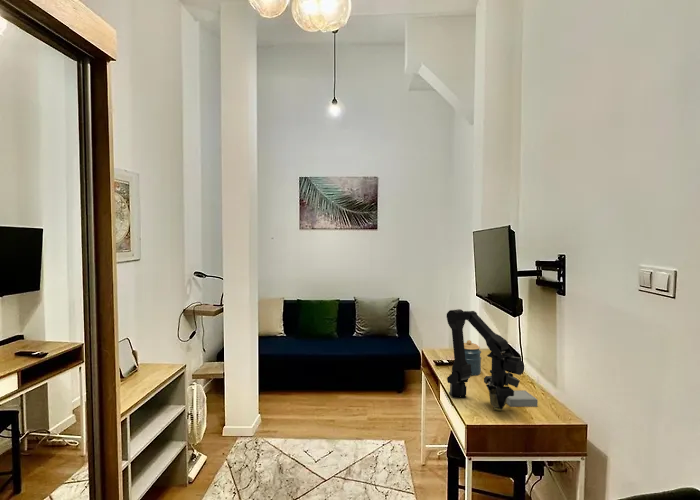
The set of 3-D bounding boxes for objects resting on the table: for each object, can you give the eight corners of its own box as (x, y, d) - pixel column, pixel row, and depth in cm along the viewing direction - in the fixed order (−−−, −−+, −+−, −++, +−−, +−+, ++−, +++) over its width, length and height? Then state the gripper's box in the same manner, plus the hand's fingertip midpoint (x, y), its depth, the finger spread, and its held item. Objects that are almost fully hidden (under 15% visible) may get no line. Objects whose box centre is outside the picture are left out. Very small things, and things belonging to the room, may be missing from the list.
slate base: (510, 406, 193) (510, 399, 193) (499, 397, 205) (499, 390, 205) (537, 406, 194) (537, 399, 194) (525, 396, 206) (525, 390, 206)
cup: (485, 408, 191) (485, 389, 191) (499, 406, 194) (499, 387, 194) (496, 414, 184) (496, 395, 184) (511, 412, 187) (511, 393, 187)
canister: (455, 374, 240) (455, 341, 240) (457, 368, 252) (458, 337, 252) (480, 377, 236) (481, 343, 236) (481, 370, 248) (482, 338, 248)
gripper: (527, 375, 180) (526, 414, 180) (508, 363, 198) (507, 398, 199) (499, 375, 179) (499, 414, 179) (483, 363, 198) (483, 398, 198)
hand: (497, 405), depth 189 cm, fingers closed on cup, 6 cm apart
